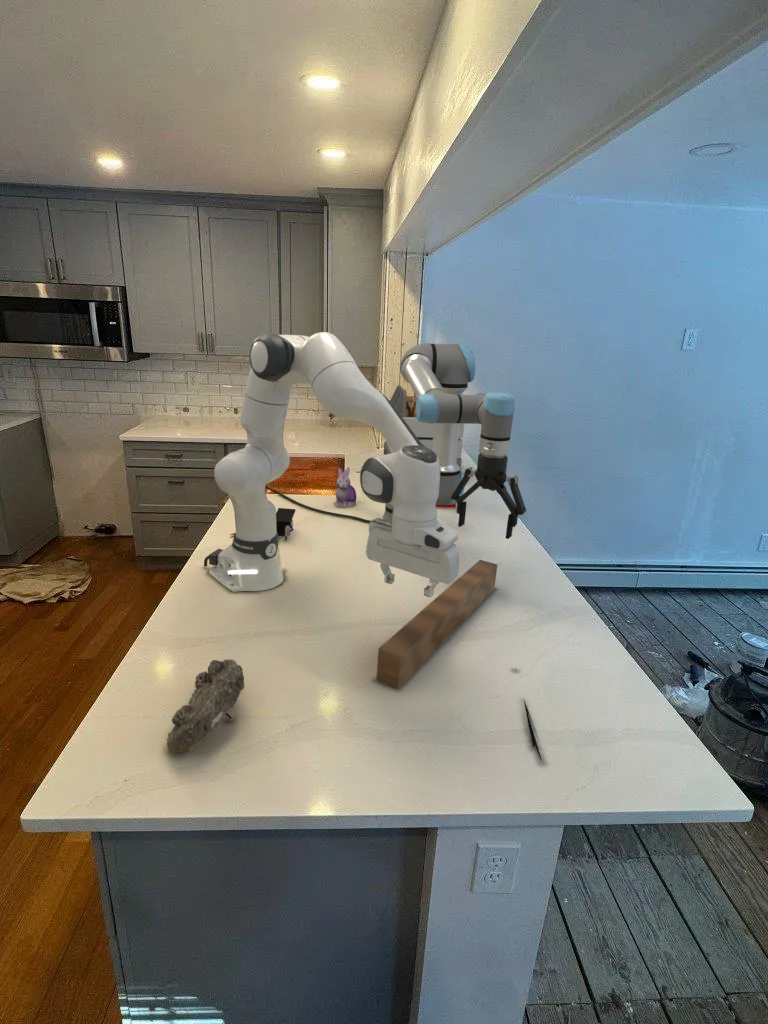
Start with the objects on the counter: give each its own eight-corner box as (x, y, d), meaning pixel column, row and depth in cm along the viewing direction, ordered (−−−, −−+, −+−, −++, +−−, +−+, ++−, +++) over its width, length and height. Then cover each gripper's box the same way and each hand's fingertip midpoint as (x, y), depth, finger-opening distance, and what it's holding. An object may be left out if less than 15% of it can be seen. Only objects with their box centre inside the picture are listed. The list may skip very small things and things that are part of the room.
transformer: (382, 463, 289) (386, 382, 275) (445, 464, 293) (451, 384, 279) (390, 482, 257) (394, 392, 243) (460, 483, 261) (468, 394, 247)
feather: (515, 674, 127) (521, 668, 126) (541, 765, 100) (548, 758, 100) (509, 670, 127) (514, 664, 126) (533, 761, 100) (540, 753, 99)
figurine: (339, 509, 221) (340, 472, 216) (329, 501, 229) (330, 465, 224) (361, 506, 225) (362, 470, 220) (351, 498, 234) (352, 463, 228)
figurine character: (291, 546, 188) (296, 525, 202) (290, 526, 185) (296, 506, 198) (270, 546, 188) (277, 525, 201) (269, 526, 185) (276, 506, 198)
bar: (477, 583, 166) (480, 559, 163) (494, 588, 163) (497, 564, 161) (376, 679, 121) (378, 648, 118) (398, 688, 119) (400, 657, 116)
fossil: (192, 660, 117) (244, 628, 112) (224, 691, 120) (276, 661, 115) (142, 746, 98) (202, 712, 93) (182, 779, 101) (242, 748, 96)
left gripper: (361, 519, 116) (358, 580, 121) (452, 545, 106) (445, 609, 111) (378, 511, 121) (374, 570, 126) (465, 535, 111) (458, 597, 116)
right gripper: (443, 449, 148) (436, 524, 156) (536, 466, 136) (524, 547, 144) (455, 444, 154) (448, 516, 162) (545, 460, 142) (534, 537, 150)
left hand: (408, 589), depth 118 cm, fingers open, 8 cm apart
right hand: (484, 531), depth 153 cm, fingers open, 13 cm apart
